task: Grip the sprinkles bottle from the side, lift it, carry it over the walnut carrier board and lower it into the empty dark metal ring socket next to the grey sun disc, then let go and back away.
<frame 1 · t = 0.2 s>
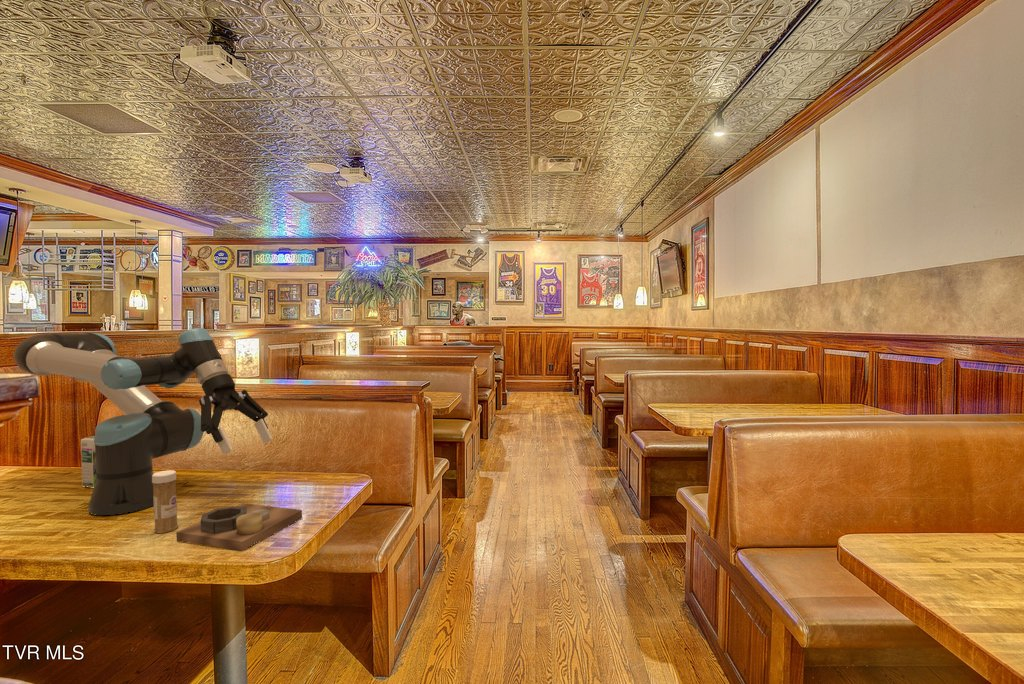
hand: (249, 446, 134), 14 cm above the table, tool tilted 35°, fingers open, 13 cm apart
sprinkles bottle: (166, 530, 114), on the table
carrier board: (242, 529, 114), on the table
syrup box: (99, 486, 147), on the table
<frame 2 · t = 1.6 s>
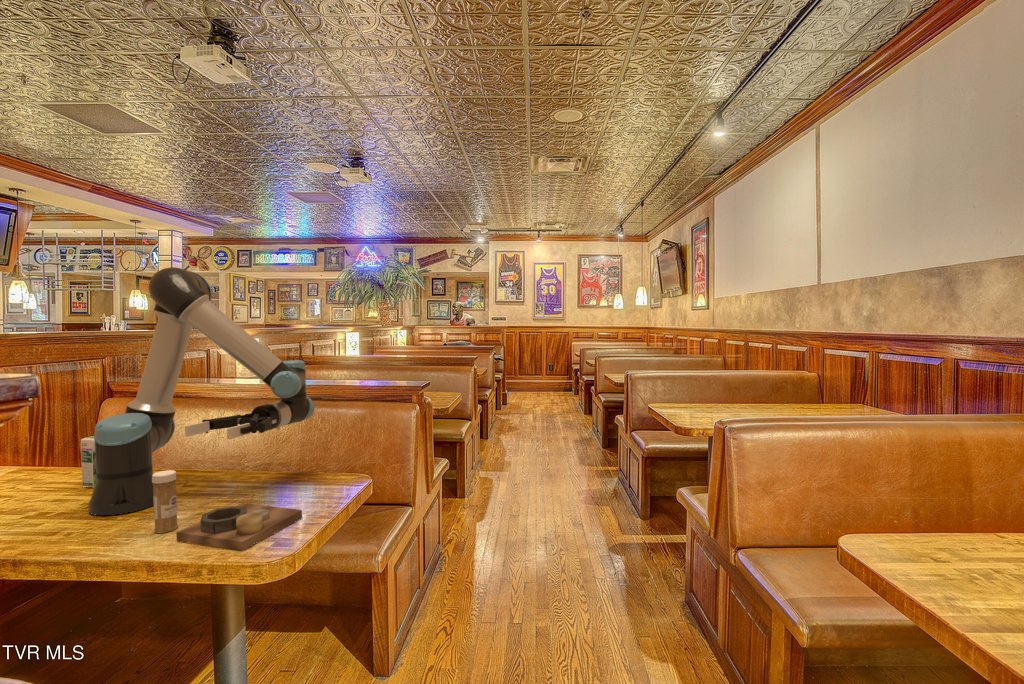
hand: (206, 432, 124), 20 cm above the table, tool horizontal, fingers open, 13 cm apart
nothing on the table moved.
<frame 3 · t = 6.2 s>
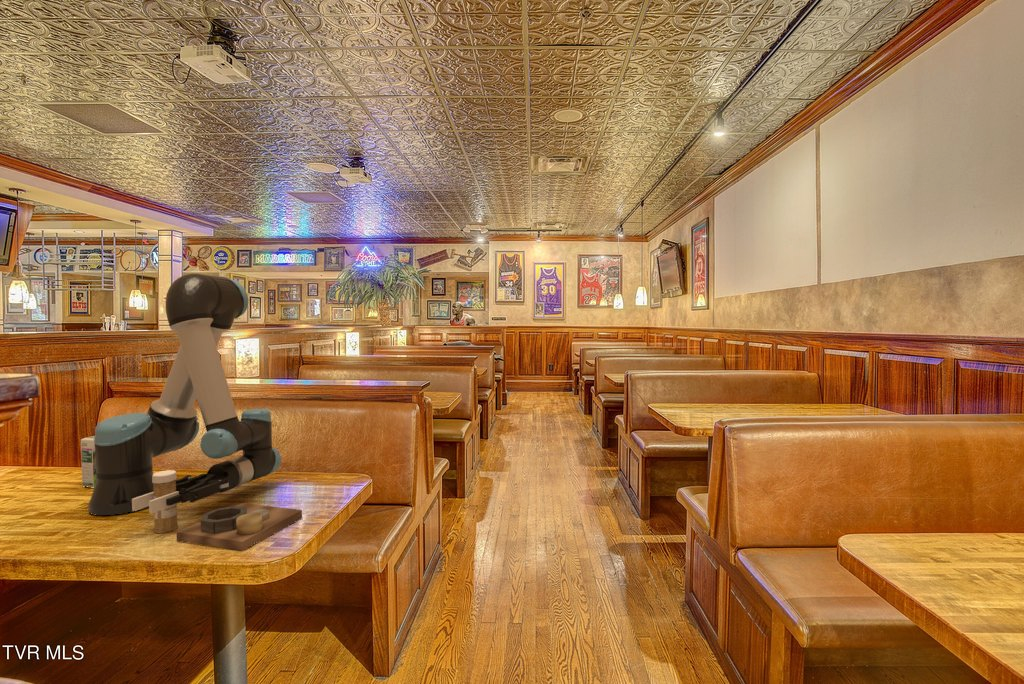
hand: (141, 506, 109), 8 cm above the table, tool horizontal, fingers closed on sprinkles bottle, 4 cm apart
sprinkles bottle: (166, 530, 114), on the table, touching gripper
everything else where it was.
when the fingers open (10 cm above the table, at t = 10.1 s): sprinkles bottle stays where it is, resting on carrier board.
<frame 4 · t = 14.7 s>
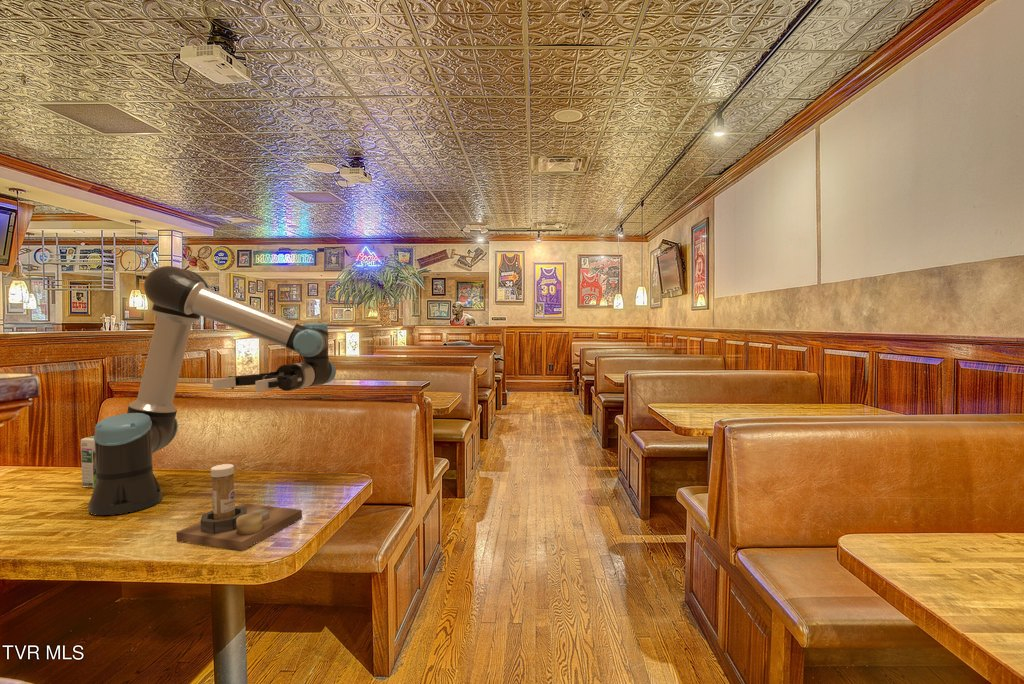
hand: (234, 385, 124), 32 cm above the table, tool horizontal, fingers open, 13 cm apart
sprinkles bottle: (224, 525, 112), point 2 cm above the table, touching carrier board
everything else where it was.
at the end: sprinkles bottle 0.0 cm from the target spot on the carrier board, point 1.8 cm above the carrier board's base; sprinkles bottle tilted 0°; the gripper is holding nothing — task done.
